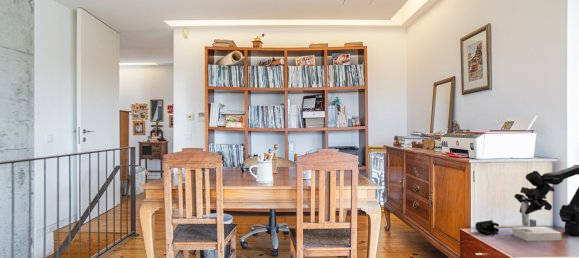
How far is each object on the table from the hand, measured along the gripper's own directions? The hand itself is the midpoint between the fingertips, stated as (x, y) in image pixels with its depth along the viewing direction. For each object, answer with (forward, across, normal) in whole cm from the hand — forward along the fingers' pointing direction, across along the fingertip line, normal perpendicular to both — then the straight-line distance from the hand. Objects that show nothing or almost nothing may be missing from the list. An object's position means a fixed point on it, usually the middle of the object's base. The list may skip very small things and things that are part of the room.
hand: (522, 213), depth 168 cm
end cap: (+19, -11, 0) cm, 22 cm away
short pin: (+1, -7, +18) cm, 20 cm away
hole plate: (+5, +1, +14) cm, 15 cm away
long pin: (+4, 0, +6) cm, 7 cm away
